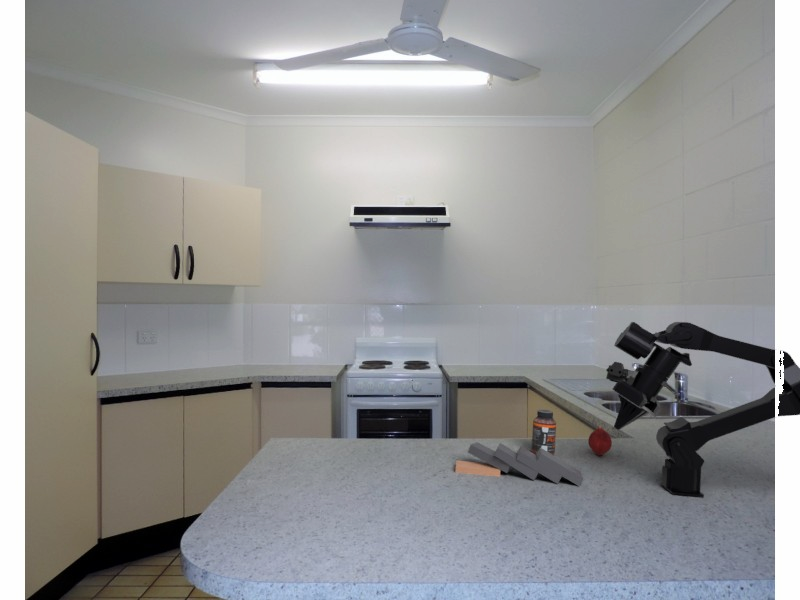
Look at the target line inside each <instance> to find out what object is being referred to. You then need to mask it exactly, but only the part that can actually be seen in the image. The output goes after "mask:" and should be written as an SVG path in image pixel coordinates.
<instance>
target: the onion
mask: <svg viewBox="0 0 800 600" xmlns="http://www.w3.org/2000/svg"><path fill="white" fill-rule="evenodd" d="M612 444H613V442H612V437H611V435H610V434H609V433H608V431H606V430H605V429H604V428H603V426H602V425H599V426H598V428H597V429H595V430H593V431H592V432H591V433H590V435H589V437H588V446H589V448H590V449H591V451H592V452H594V454H595V455H596V456H598V455H602V456H603V455H605V454H606V453H608V452H609V451H610V450H611V448H612V446H613V445H612Z"/></svg>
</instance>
